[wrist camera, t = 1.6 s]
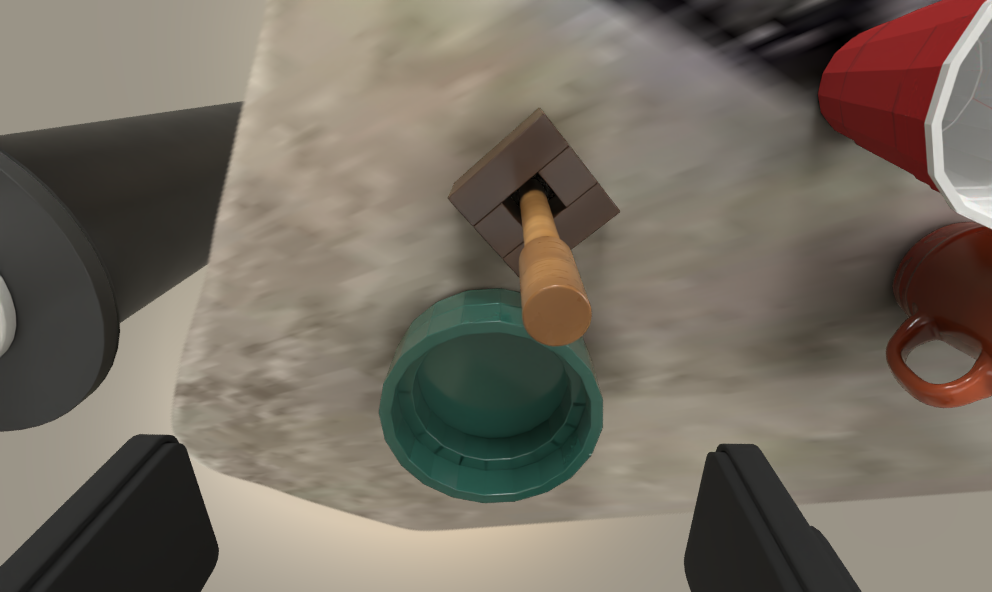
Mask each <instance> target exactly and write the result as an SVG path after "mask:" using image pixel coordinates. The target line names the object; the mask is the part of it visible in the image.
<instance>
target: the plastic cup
mask: <svg viewBox="0 0 992 592" xmlns="http://www.w3.org/2000/svg"><path fill="white" fill-rule="evenodd" d="M818 98H819V104H820V110H821V113H822V115H823V116H824V117H825V119H826V120H827V121H828V123H829V124H830V126H832V127H833V129H834V130H835V131H837V132H839V133H841V134H843V135H845V136H846V137H848V138H850V139H852V140H854V142H855V143H856V144H857V145H859V146H861V147H863V148H865V149H866V150H868V151H870V152H872V153H874V154H876V155H878V156H879V157H881V158H883V159H885V160H887V161H889V162H891V163H893V164H894V165H896V166H898V167H900V168H902V169H904V170H906V171H907V172H909V173H911V174H913V175H914V176H915V178H916V179H918V180H920V181H922V182H924V183H926V184H928V185H929V186H930V187H931V189H933V190H935V191H938V192H940V193H941V194H942V196H943V197H944V199H945V201H946V202H947V204H948V205H949V207H950V208H951V209H952V210H954V211H955V212H957V213H958V214H960V215H963V216H965V217H967V218H969V219H971V220H973V221H976V222H978V223H980V224H982V225H984V226H986V227H988V228H991V229H992V0H943V1H940V2H937V3H934V4H932V5H929V6H926V7H923V8H921V9H918V10H916V11H913V12H911V13H909V14H906V15H904V16H902V17H899V18H897V19H895V20H892V21H889V22H886V23H884V24H881V25H878V26H876V27H874V28H871V29H869V30H867V31H864V32H862V33H860V34H858V35H857V36H856V37H854V38H852V39H851V40H850V41H848V42H847V43H846V44H845V45H844V46H843V47H842V48H841V49H839V50H838V51H837V52H836V53H835V54H834V56H833V57H832V59H831V61H830V62H829V64H828V65H827V67H826V69H825V70H824V72H823V74H822V78H821V83H820V87H819V91H818Z"/></svg>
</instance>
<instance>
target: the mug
mask: <svg viewBox="0 0 992 592" xmlns="http://www.w3.org/2000/svg"><path fill="white" fill-rule="evenodd" d="M893 292H894V296H895V299H896V301H897V303H898V305H899V306H900V307H901V308H902V310H903V311H904V312H905V313H906V314H907V315H908V317H909V318H907V319H906V320H905V321H904V322H903V323H902V325H901V326H900V327H899V328H898V329H897V331H896V332H895V333H894V335H893V336H892V337H891V339H890V340H889V342H888V344H887V347H886V360H887V363H888V366H889V369H890V371H891V373H892V374H893V376H894V378H895V379H896V381H897V382H898V383H899V384H900V385H901V387H902V388H904V389H905V390H906V391H907V392H908V393H909V394H910V395H911V396H913V397H914V398H915V399H917V400H919V401H920V402H922V403H925V404H927V405H930V406H933V407H939V408H953V407H959V406H964V405H967V404H970V403H973V402H975V401H978V400H981V399H984V398H988V397H991V396H992V229H991V228H988V227H986V226H984V225H982V224H980V223H977V222H961V223H955V224H951V225H947V226H944V227H942V228H939V229H937V230H935V231H933V232H931V233H930V234H928V235H926V236H925V237H923V238H922V239H921V240H919V241H918V242H917V243H916V244H915V245H914V246H913V247H912V248H911V249H910V250H909V251H908V252H907V253H906V254H905V256H904V257H903V259H902V260H901V262H900V264H899V266H898V268H897V270H896V273H895V276H894V279H893ZM933 340H941V341H944V342H946V343H948V344H949V345H951V346H953V347H955V348H956V349H958V350H960V351H962V352H964V353H965V354H967V355H969V356H971V357H972V358H974V359H975V360H976V362H975V364H974V366H973V367H972V369H971V370H970V371H969V372H968V373H967V374H965V375H964V376H962V377H961V378H959V379H957V380H955V381H952V382H949V383H945V384H931V383H928V382H926V381H924V380H923V379H921V378H920V377H918V376H917V375H916V374H915V373H914V372H913V371H912V370H911V369H910V368H909V367H908V366H907V365H906V359H907V356H908V355H909V353H910V352H911V351H912V350H913V349H915V348H916V347H918V346H919V345H922V344H924V343H926V342H929V341H933Z"/></svg>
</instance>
